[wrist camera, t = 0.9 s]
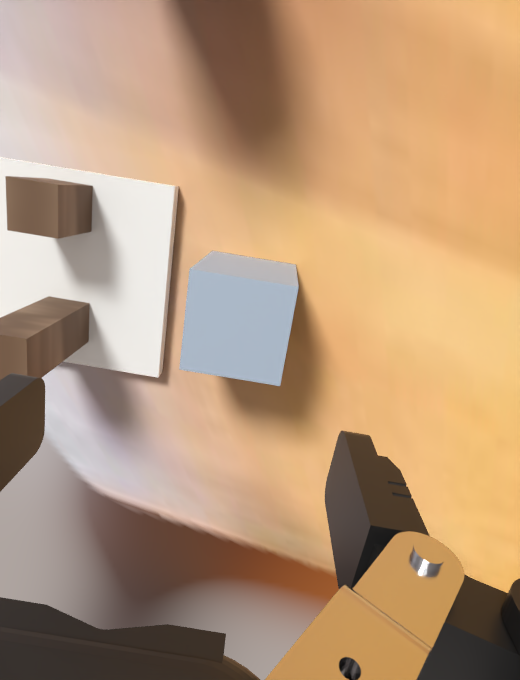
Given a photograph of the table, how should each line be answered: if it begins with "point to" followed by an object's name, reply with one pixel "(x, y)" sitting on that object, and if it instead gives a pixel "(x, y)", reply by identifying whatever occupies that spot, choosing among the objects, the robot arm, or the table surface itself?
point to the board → (99, 266)
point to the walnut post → (42, 336)
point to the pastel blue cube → (239, 317)
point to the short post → (48, 207)
